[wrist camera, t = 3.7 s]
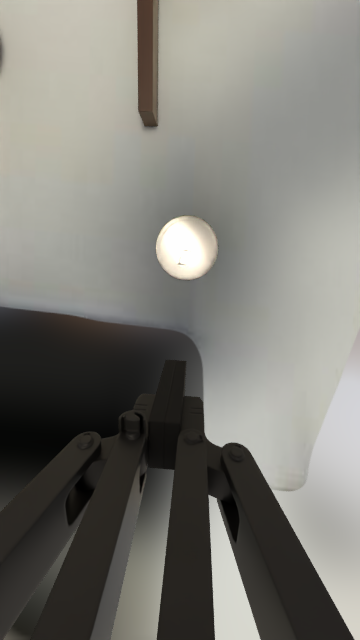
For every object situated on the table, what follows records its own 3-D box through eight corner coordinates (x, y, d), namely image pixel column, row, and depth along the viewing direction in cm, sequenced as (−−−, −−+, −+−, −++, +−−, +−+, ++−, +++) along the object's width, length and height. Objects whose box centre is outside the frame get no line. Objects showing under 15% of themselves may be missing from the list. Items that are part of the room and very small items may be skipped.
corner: (245, -39, 23) (252, -81, 20) (231, 126, 27) (235, 111, 24) (143, -36, 24) (136, -76, 21) (144, 126, 27) (138, 111, 24)
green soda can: (205, 275, 31) (209, 288, 20) (166, 265, 32) (148, 273, 20) (216, 233, 30) (227, 221, 18) (174, 223, 30) (160, 206, 18)
